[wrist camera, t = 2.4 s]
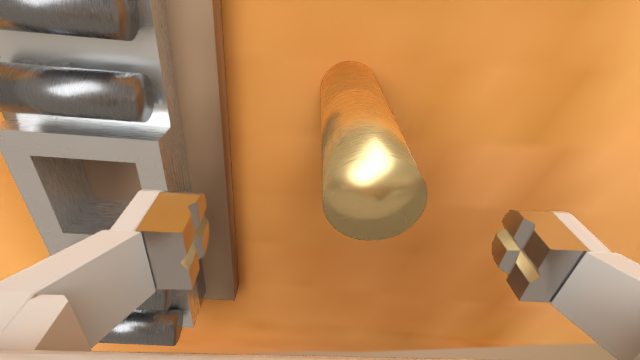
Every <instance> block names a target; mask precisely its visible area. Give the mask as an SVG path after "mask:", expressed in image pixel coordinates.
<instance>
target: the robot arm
mask: <svg viewBox="0 0 640 360" xmlns="http://www.w3.org/2000/svg"><path fill="white" fill-rule="evenodd" d="M206 207H207V205H206V199H205V195H204V194H203V193H194V192H180V191H166V190H164V191H162V190H149V189H143V190H140V191H138V193H137V194H136V195H135V197H134V198H133V199H132V201H131V202H130V203H129V205H128V206H127V207H126V209H125V210H124V211H123V213H122V214H121V215H120V217H119V218H118V219H117V221H116V222H115V223H114V225H113V226H112V227H111V229H110V230H102V231H100V232H98V233H96V234H94V235H92V236H90V237H88V238H86V239H84V240H82V241H80V242H78V243H76V244H74V245H72V246H70V247H68V248H66V249H64V250H62V251H60V252H58V253H56V254H54V255H52V256H50V257H48V258H46V259H44V260H42V261H40V262H38V263H36V264H34V265H32V266H30V267H28V268H26V269H24V270H22V271H20V272H18V273H16V274H14V275H12V276H10V277H8V278H6V279H4V280H2V281H0V360H482V359H440V358H438V359H437V358H391V357H346V356H299V355H251V354H203V353H155V352H108V351H91V348H92V347H94V346H95V345H96V344H97V343H98V342H99V341H100V340H102V339H103V338H104V337H105V336H106V335H107V334H108V333H109V332H111V331H112V330H113V329H114V328H115V327H116V326H117V325H118V324H120V323H121V322H122V321H123V320H124V319H125V318H126V317H128V316H129V315H130V314H131V313H132V312H133V311H134V310H135V309H137V308H138V307H139V306H140V305H141V304H142V303H143V302H144V301H146V300H147V299H148V298H149V297H150V296H151V295H152V294H153V293H155V292H156V289H177V290H192V289H193V286H194V283H195V280H196V277H197V275H198V272H199V269H200V267H199V259H200V258H202V257H203V256H204V255H205V252H206V249H207V245H208V239H209V222H208V219H207V218H206V217H205V216H204V212H205V210H206ZM502 223H503V226H504V229H502V230H501V231H500V232H498V233H497V234H496V235H495V238H494V240H493V243H492V255H493V258H494V261H495V262H496V264H497V266H498V267H499V268H500V269H501V270H503V271H504V272H506V273H507V274H508V276H507V282H508V284H509V285H510V287H511V288H512V290H513V292H514V293H515V295H516V296H517V298H518V300H519V301H533V302H549V303H551V305H552V306H553V307H555V308H556V309H557V310H558V311H559V312H561V313H562V314H563V315H564V316H565V317H567V318H568V319H569V320H570V321H572V322H573V323H574V324H575V325H576V326H578V327H579V328H580V329H581V330H582V331H584V332H585V333H586V334H587V335H588V336H590V337H591V338H592V339H593V340H594V341H596V342H597V343H598V344H599V345H601V346H602V347H603V348H604V349H605V350H607V351H608V352H609V353H610V354H611V355H613V356H614V357H615V358H616V359H618V360H640V264H639V263H637V262H635V261H633V260H631V259H629V258H627V257H625V256H623V255H621V254H619V253H612V252H611V251H610V250H609V249H608V248H607V247H606V246H605V245H604V244H602V243H601V242H600V241H599V240H598V239H597V238H596V237H595V236H594V235H593V234H592V233H591V232H590V231H589V230H588V229H587V228H586V227H585V226H584V225H583V224H581V223H580V222H579V221H578V220H577V219H576V218H575V217H574V216H573V215H572V214H570V213H568V212H565V211H524V210H510V211H509V212H508V213H507V214H506V215H505V217H504V219H503V221H502ZM483 360H486V359H483Z"/></svg>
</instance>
